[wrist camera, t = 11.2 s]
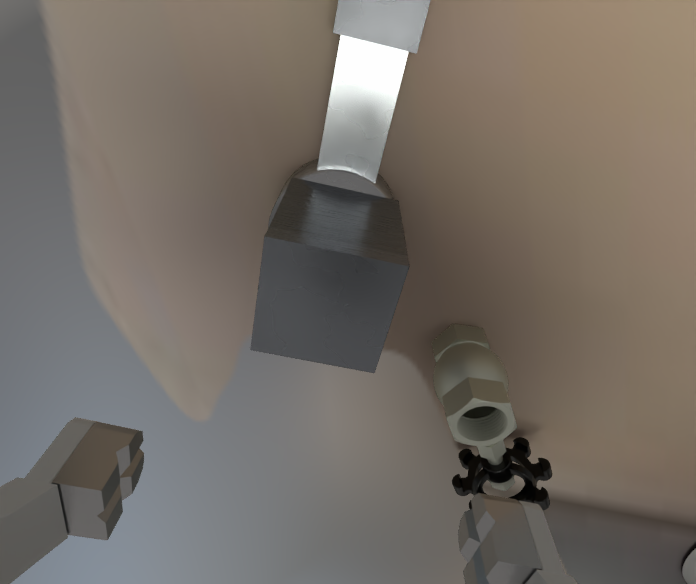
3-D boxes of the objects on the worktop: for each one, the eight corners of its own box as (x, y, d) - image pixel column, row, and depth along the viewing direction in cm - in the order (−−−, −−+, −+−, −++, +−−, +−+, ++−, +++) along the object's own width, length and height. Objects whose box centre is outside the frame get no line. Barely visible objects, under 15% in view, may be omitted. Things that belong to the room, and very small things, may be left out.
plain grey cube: (398, 200, 21) (409, 266, 15) (372, 289, 23) (374, 373, 18) (292, 177, 20) (264, 236, 15) (278, 270, 23) (250, 349, 17)
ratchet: (516, -191, 16) (587, -290, 11) (379, 277, 26) (382, 340, 21) (339, -244, 15) (326, -375, 10) (271, 254, 26) (247, 314, 20)
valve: (401, 334, 28) (448, 451, 34) (409, 412, 23) (464, 537, 29) (505, 305, 27) (536, 433, 33) (541, 380, 21) (571, 519, 27)
